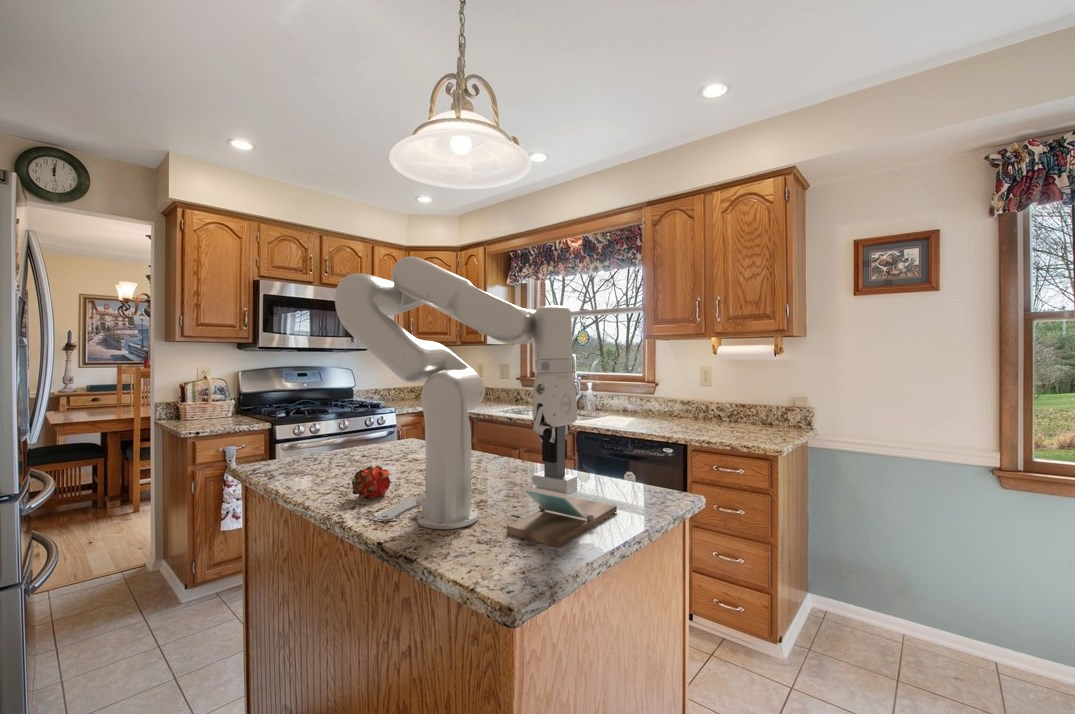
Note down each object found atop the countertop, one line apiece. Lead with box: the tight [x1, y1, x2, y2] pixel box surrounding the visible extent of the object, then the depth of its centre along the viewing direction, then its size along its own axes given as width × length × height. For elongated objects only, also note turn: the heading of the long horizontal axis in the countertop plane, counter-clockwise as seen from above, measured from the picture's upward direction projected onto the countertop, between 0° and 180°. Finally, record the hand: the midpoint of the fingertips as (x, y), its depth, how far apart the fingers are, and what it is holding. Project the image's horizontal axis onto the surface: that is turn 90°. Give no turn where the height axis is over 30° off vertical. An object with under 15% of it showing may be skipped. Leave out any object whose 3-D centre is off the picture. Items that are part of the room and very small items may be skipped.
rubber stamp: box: [532, 422, 578, 497], centre depth 95 cm, size 4×8×14 cm, turn 56°
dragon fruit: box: [351, 465, 393, 501], centre depth 117 cm, size 8×8×12 cm
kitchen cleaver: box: [372, 499, 422, 521], centre depth 111 cm, size 24×1×10 cm
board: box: [506, 496, 618, 548], centre depth 99 cm, size 13×24×3 cm, turn 145°
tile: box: [522, 485, 587, 519], centre depth 96 cm, size 10×10×1 cm
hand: (554, 459), depth 95 cm, fingers closed on rubber stamp, 3 cm apart
